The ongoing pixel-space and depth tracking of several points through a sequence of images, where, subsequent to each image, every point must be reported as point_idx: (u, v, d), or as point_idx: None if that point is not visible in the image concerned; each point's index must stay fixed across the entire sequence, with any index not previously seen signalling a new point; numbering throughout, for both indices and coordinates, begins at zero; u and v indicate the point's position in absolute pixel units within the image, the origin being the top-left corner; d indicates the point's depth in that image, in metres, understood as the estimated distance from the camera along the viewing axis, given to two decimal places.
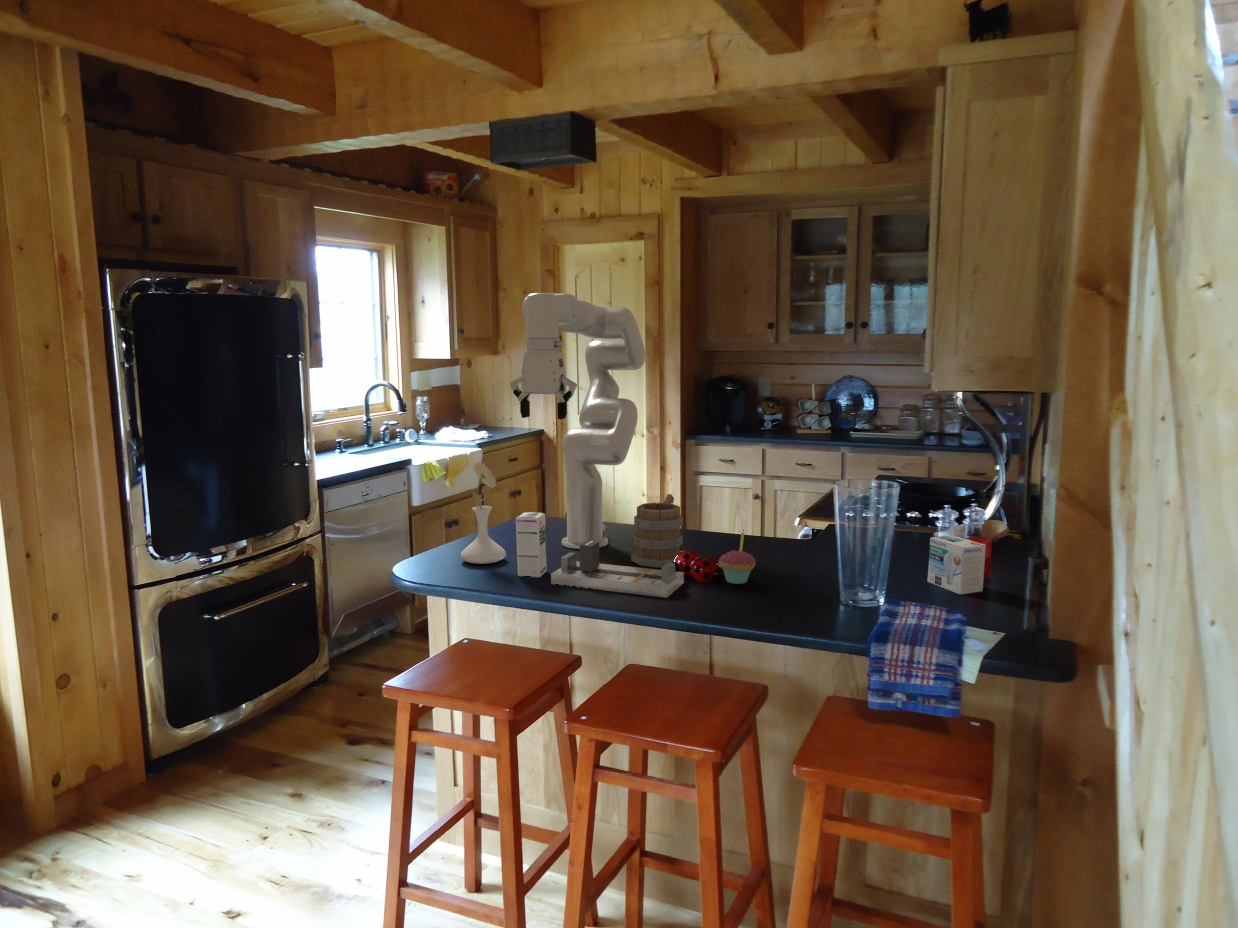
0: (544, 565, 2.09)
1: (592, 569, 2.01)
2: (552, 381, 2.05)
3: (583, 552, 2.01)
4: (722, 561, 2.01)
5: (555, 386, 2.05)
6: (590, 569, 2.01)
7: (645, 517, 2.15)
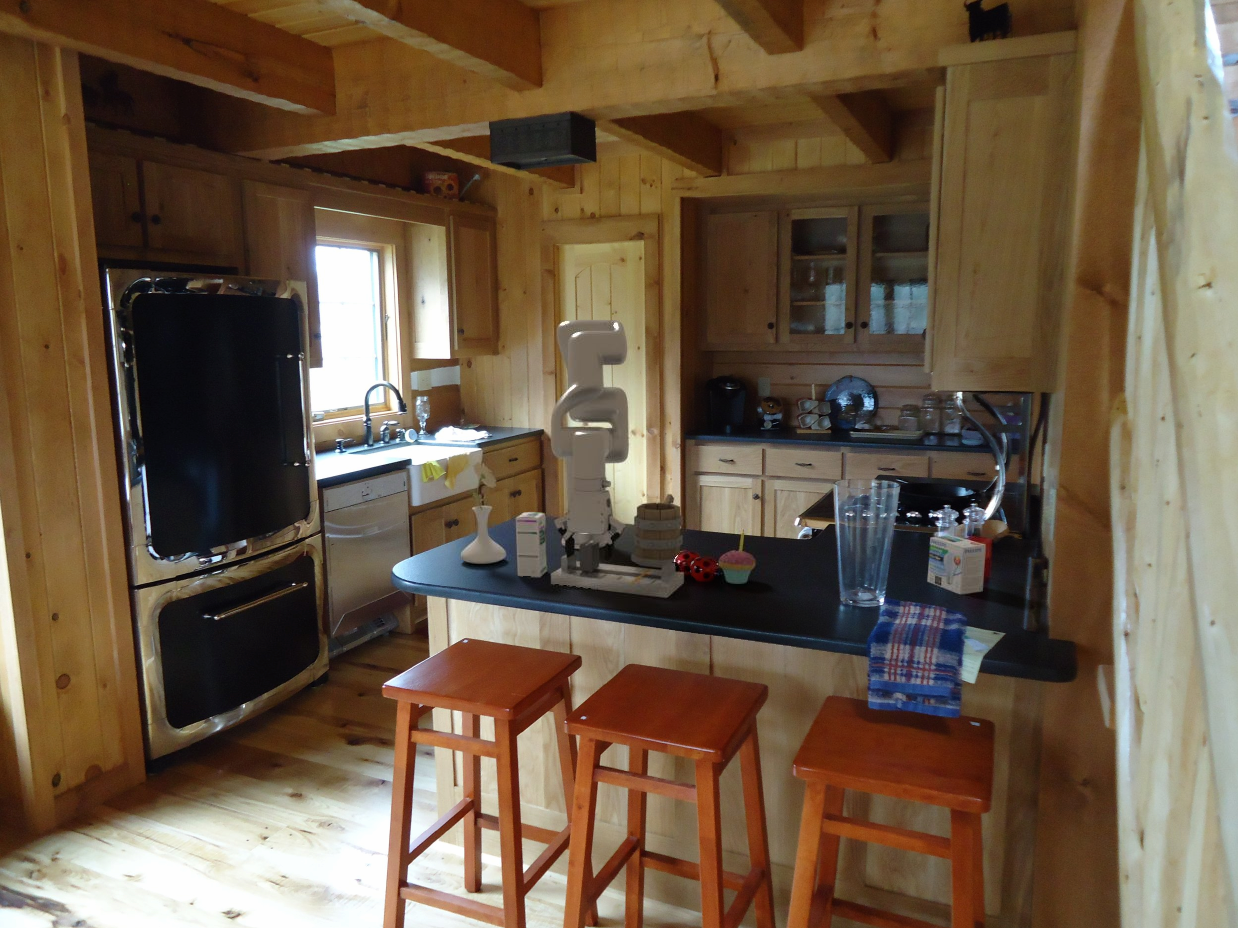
0: (544, 565, 2.09)
1: (592, 569, 2.01)
2: (599, 522, 1.98)
3: (583, 552, 2.01)
4: (722, 561, 2.01)
5: (603, 527, 1.98)
6: (590, 569, 2.01)
7: (645, 517, 2.15)
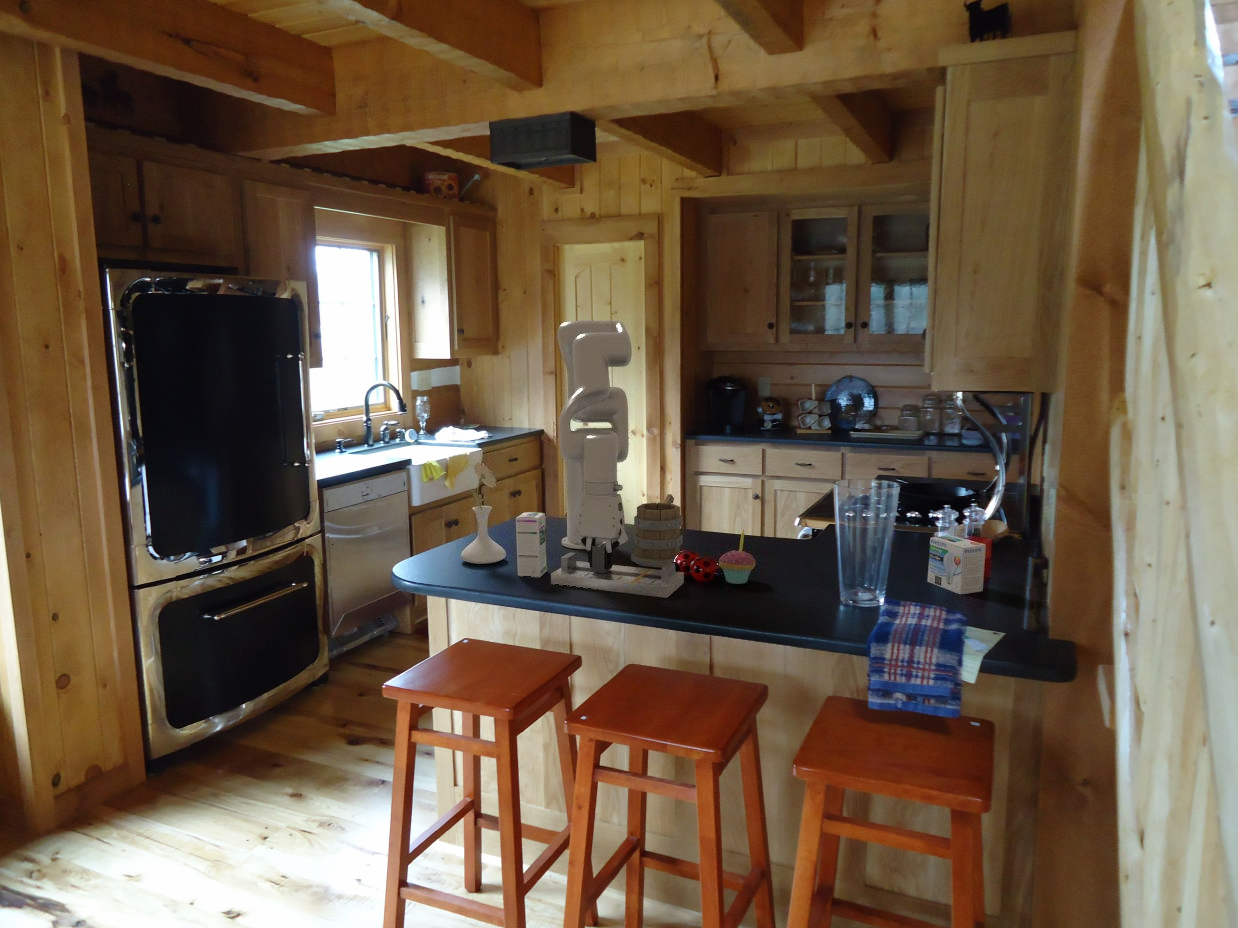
0: (544, 565, 2.09)
1: (605, 570, 2.00)
2: (611, 526, 1.96)
3: (596, 553, 1.99)
4: (722, 561, 2.01)
5: (614, 531, 1.97)
6: (603, 570, 1.99)
7: (645, 517, 2.15)
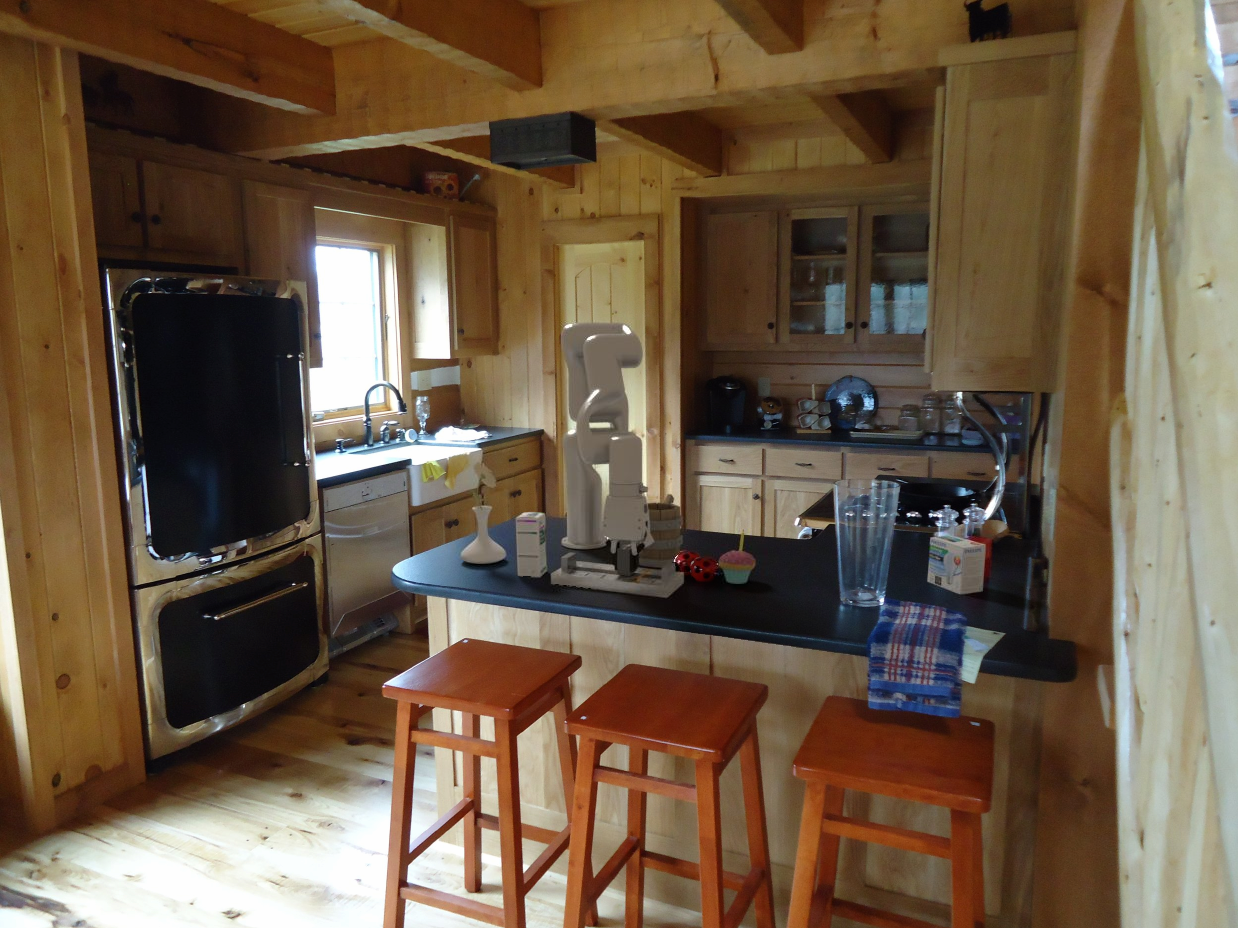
0: (544, 565, 2.09)
1: (630, 573, 1.98)
2: (637, 529, 1.94)
3: (621, 555, 1.97)
4: (722, 561, 2.01)
5: (640, 534, 1.94)
6: (628, 573, 1.97)
7: None
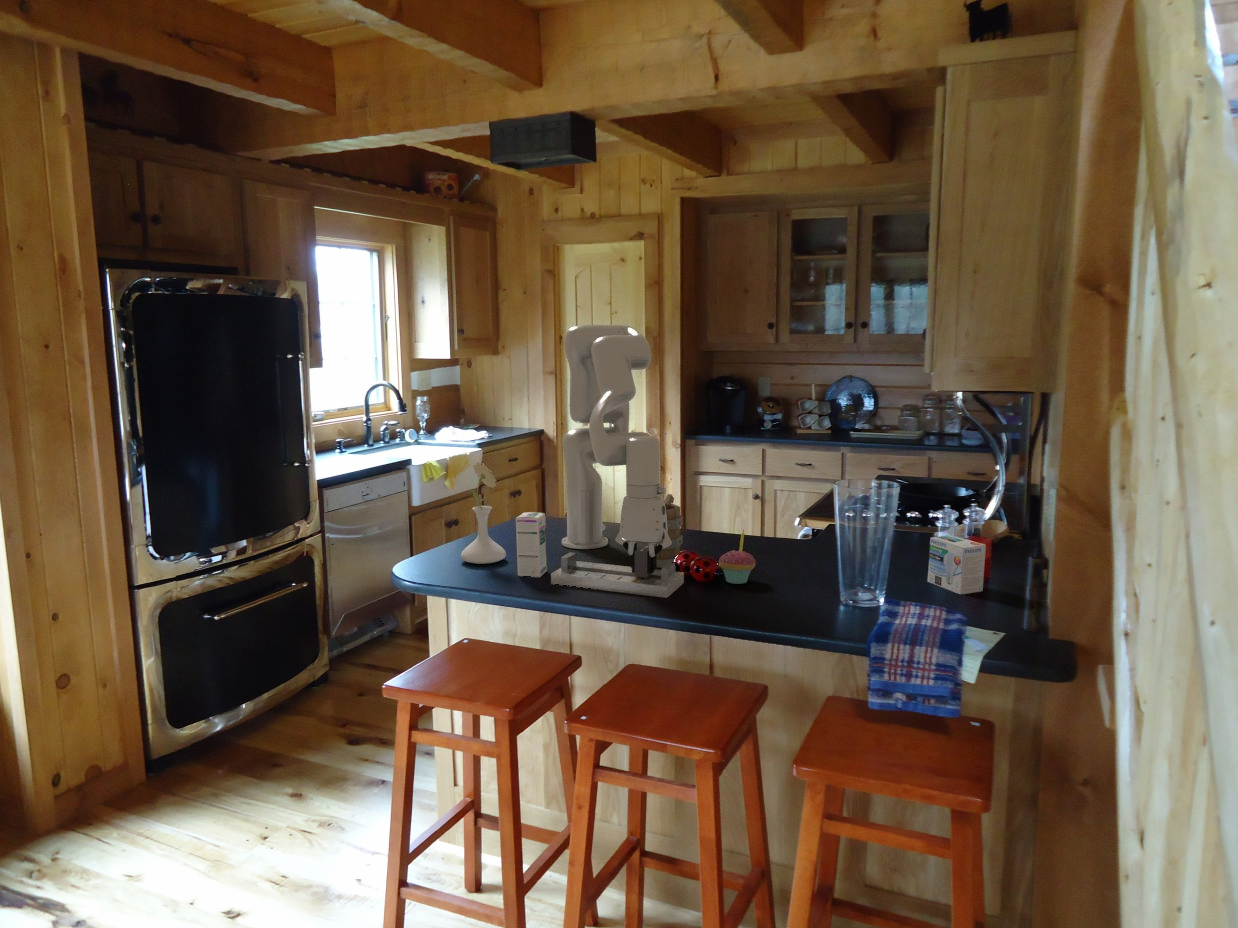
0: (544, 565, 2.09)
1: (647, 575, 1.96)
2: (655, 530, 1.93)
3: (638, 557, 1.96)
4: (722, 561, 2.01)
5: (658, 535, 1.93)
6: (645, 575, 1.96)
7: None
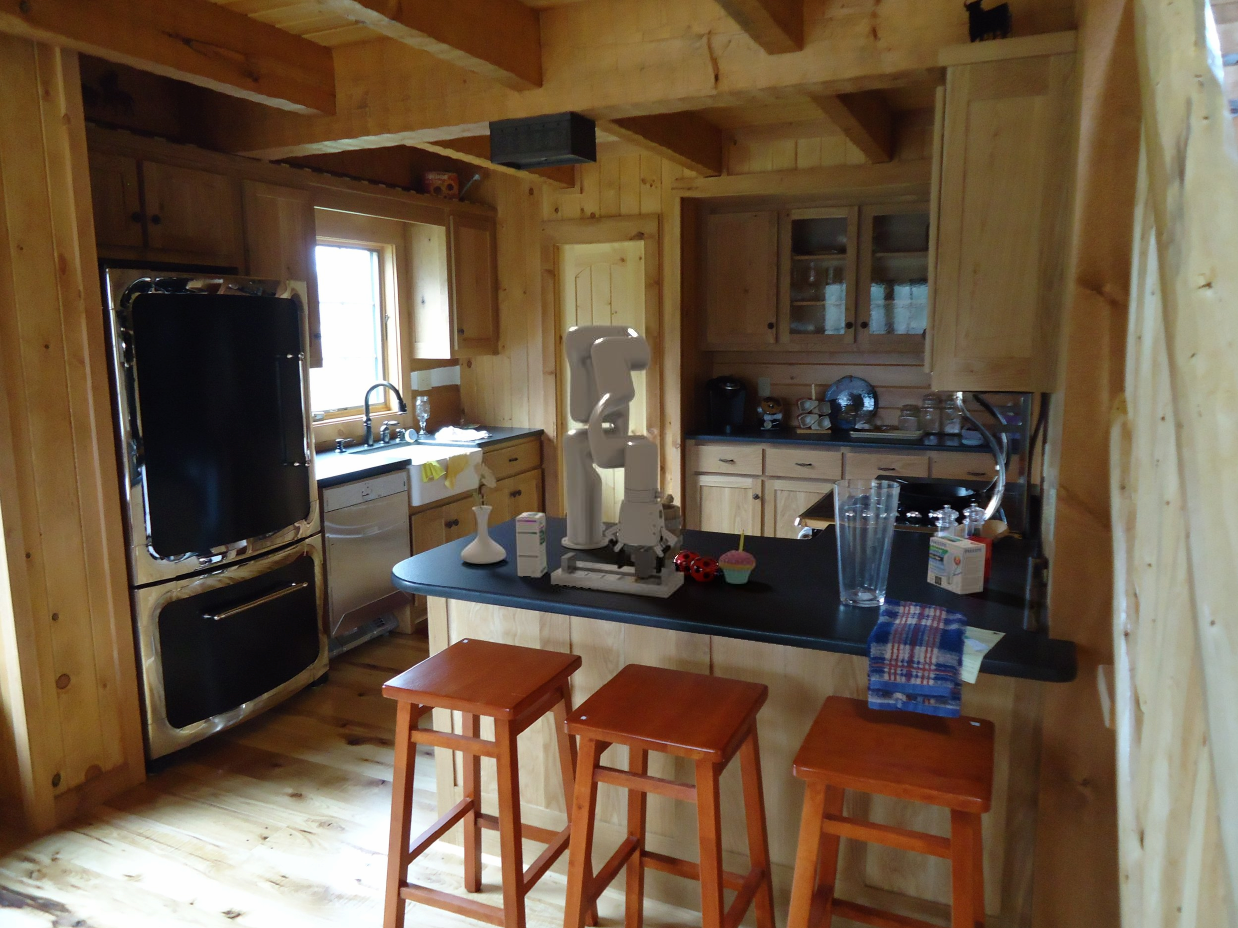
0: (544, 565, 2.09)
1: (648, 575, 1.96)
2: (652, 534, 1.94)
3: (638, 557, 1.96)
4: (722, 561, 2.01)
5: (655, 539, 1.94)
6: (646, 575, 1.96)
7: None
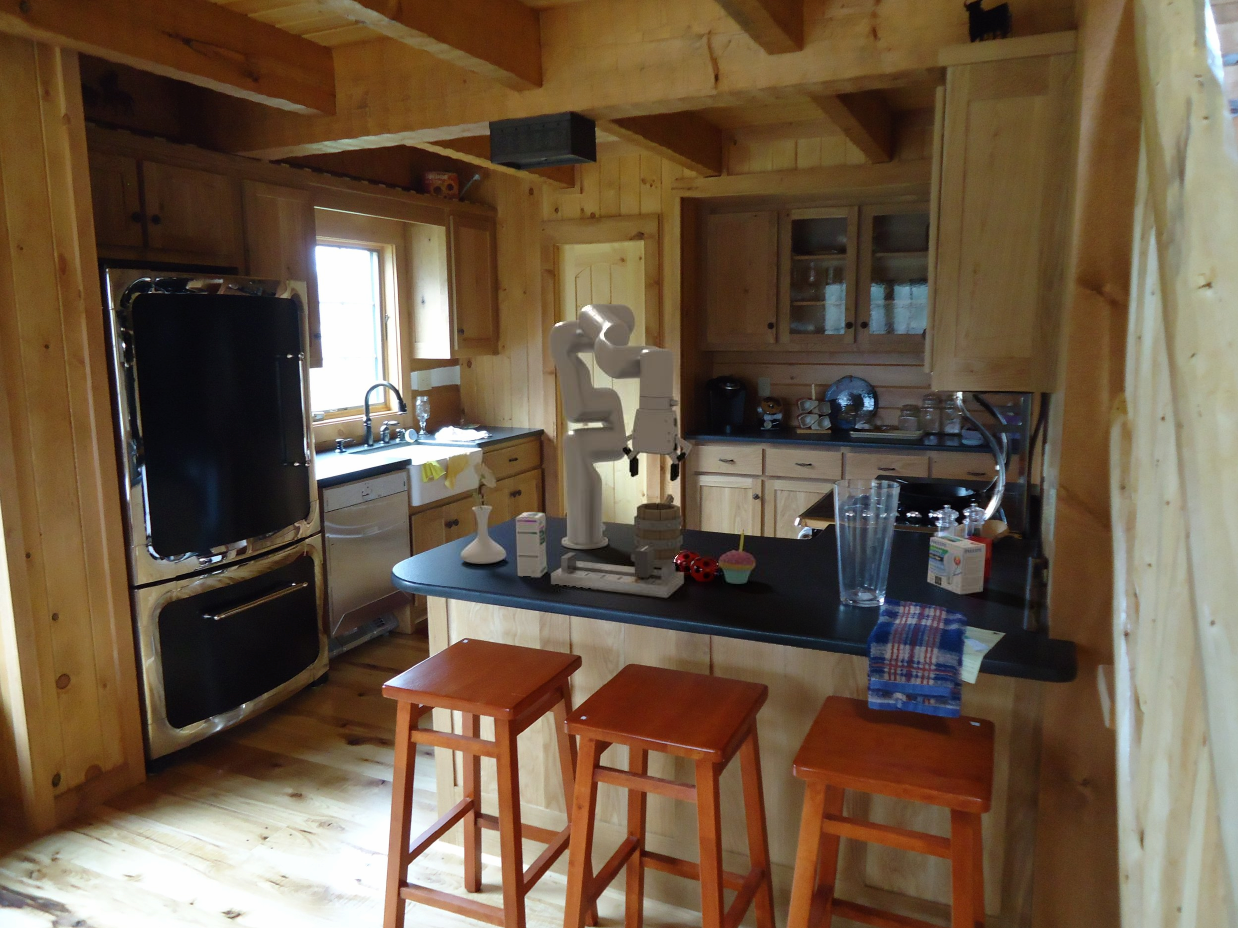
0: (544, 565, 2.09)
1: (648, 575, 1.96)
2: (666, 442, 1.96)
3: (638, 557, 1.96)
4: (722, 561, 2.01)
5: (669, 447, 1.96)
6: (646, 575, 1.96)
7: (645, 517, 2.15)
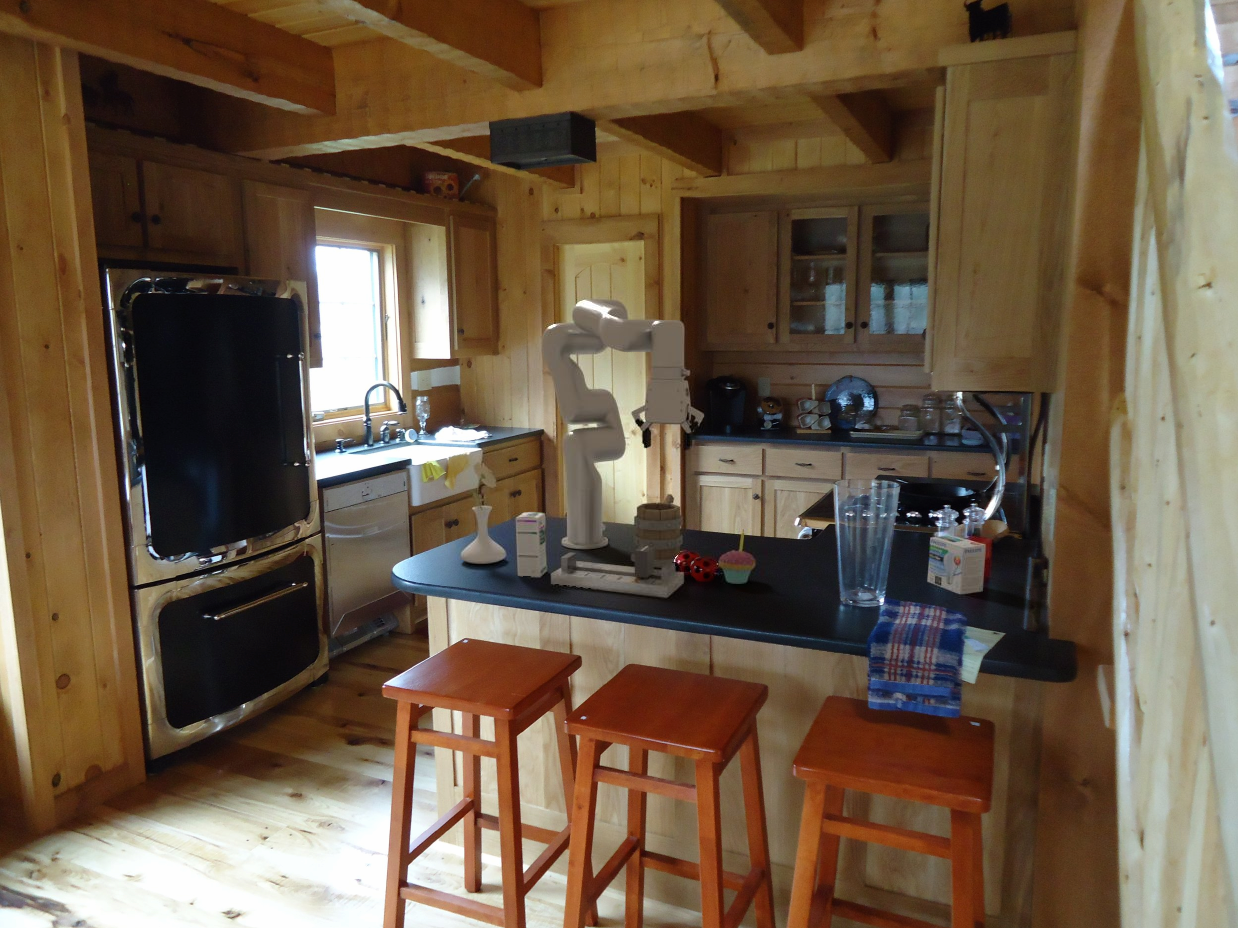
0: (544, 565, 2.09)
1: (648, 575, 1.96)
2: (679, 411, 1.99)
3: (638, 557, 1.96)
4: (722, 561, 2.01)
5: (682, 416, 1.99)
6: (646, 575, 1.96)
7: (645, 517, 2.15)
